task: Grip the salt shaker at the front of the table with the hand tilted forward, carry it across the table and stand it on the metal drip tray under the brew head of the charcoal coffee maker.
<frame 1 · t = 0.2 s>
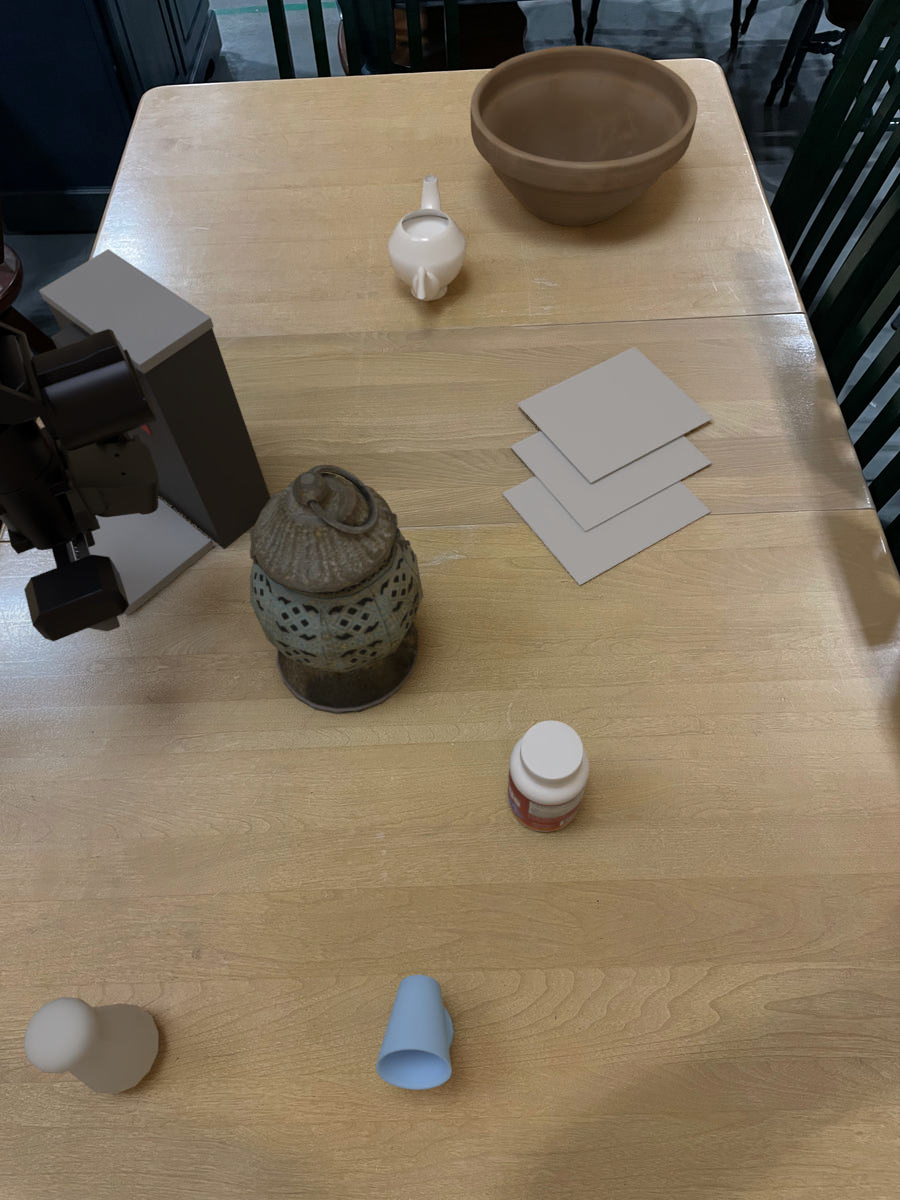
hand: (101, 585, 71), 12 cm above the table, tool pointing down, fingers open, 9 cm apart
salt shaker: (130, 1050, 63), on the table
blue mug: (423, 1039, 63), on the table
paper stack: (608, 458, 92), on the table
lantern: (352, 649, 81), on the table
teapot: (429, 290, 108), on the table
pill bottle: (543, 799, 72), on the table
coffee maker: (132, 552, 88), on the table
flower pot: (574, 198, 118), on the table
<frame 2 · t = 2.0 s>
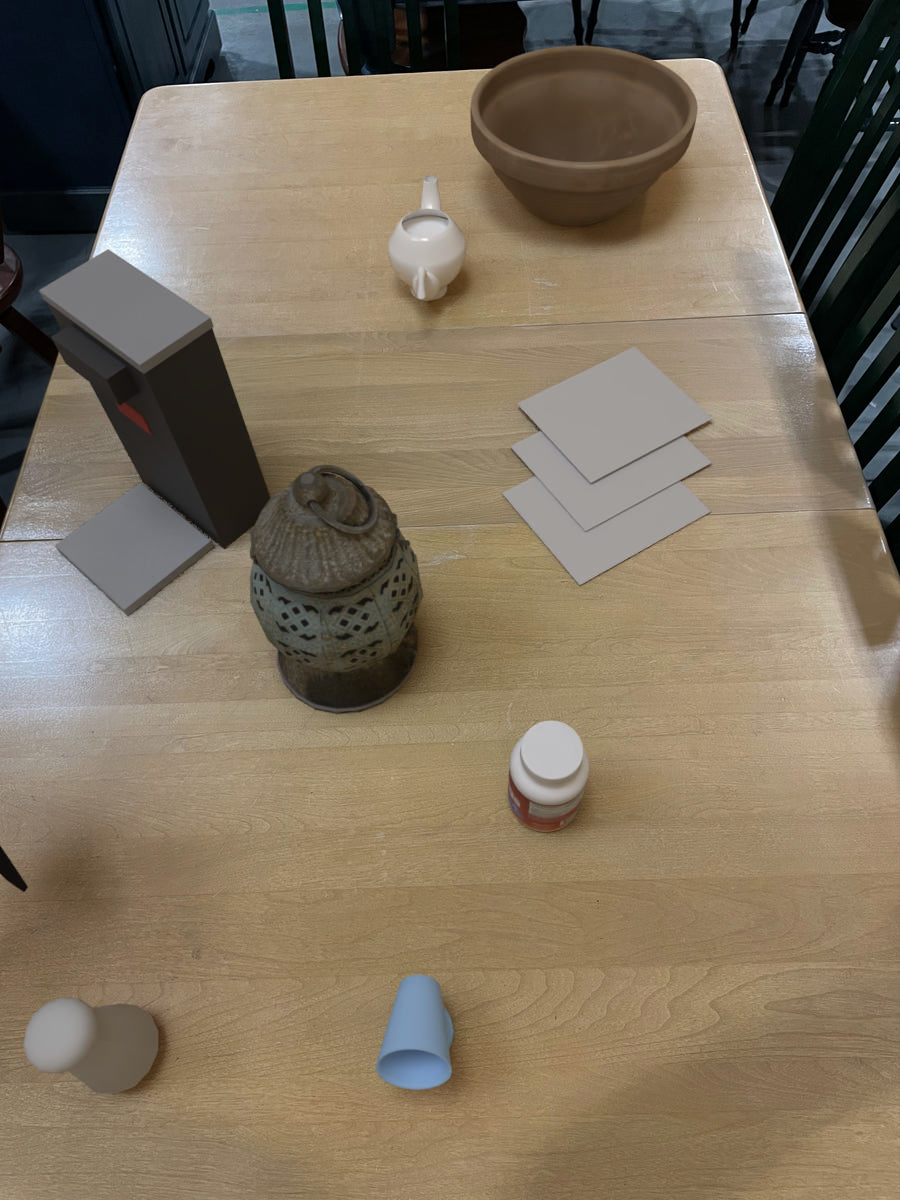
nothing on the table moved.
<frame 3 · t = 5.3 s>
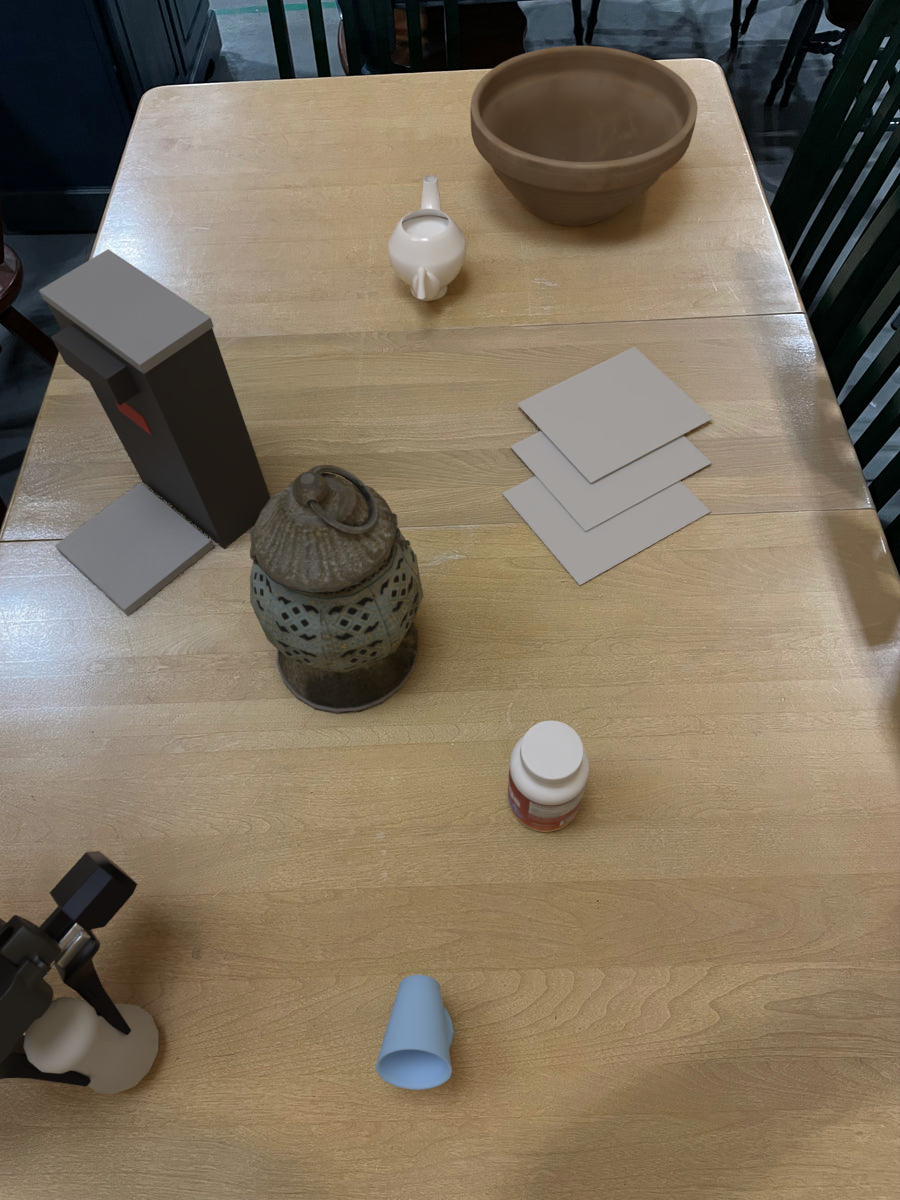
hand: (108, 1056, 57), 7 cm above the table, tool tilted 45°, fingers closed on salt shaker, 3 cm apart
salt shaker: (130, 1050, 63), on the table, touching gripper
everything else where it was.
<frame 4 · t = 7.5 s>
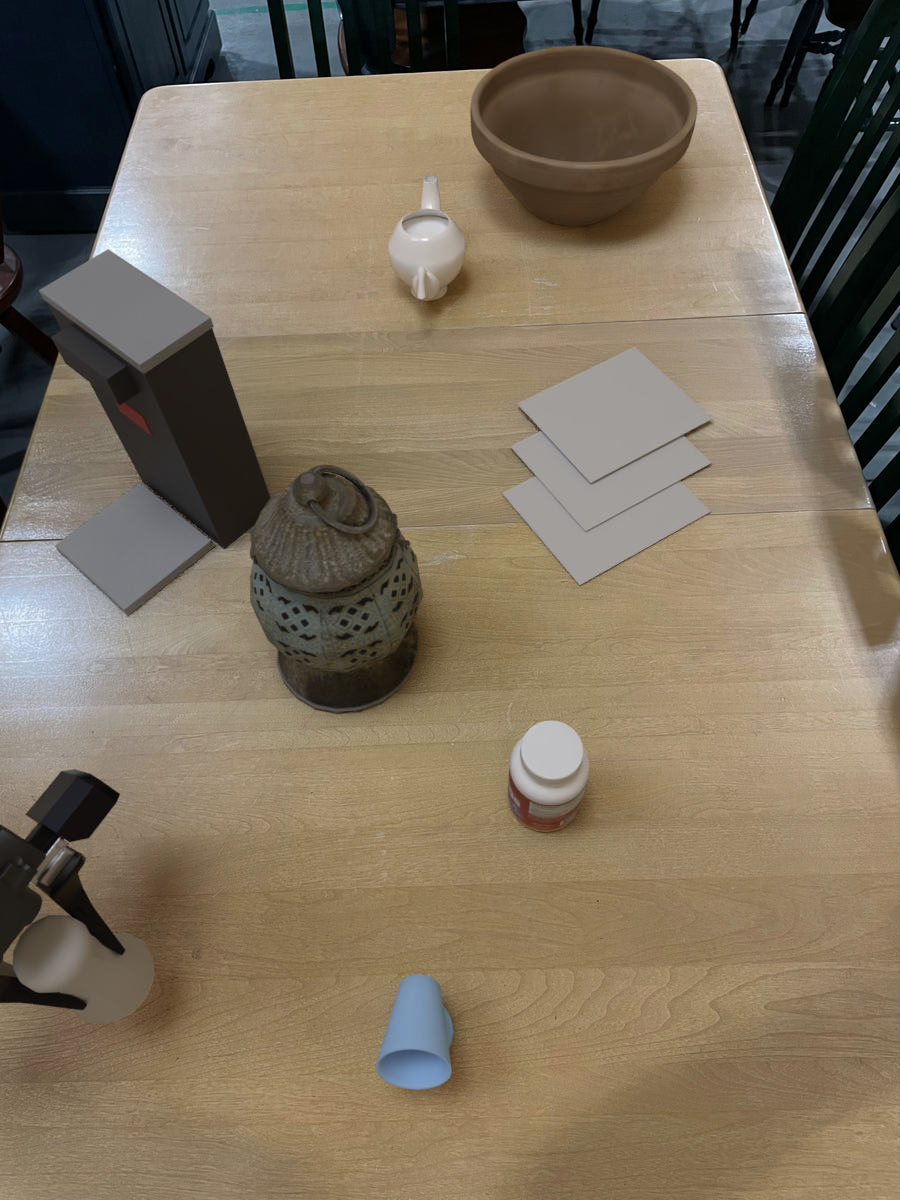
hand: (103, 978, 54), 12 cm above the table, tool tilted 45°, fingers closed on salt shaker, 3 cm apart
salt shaker: (124, 982, 61), point 6 cm above the table, touching gripper
everything else where it was.
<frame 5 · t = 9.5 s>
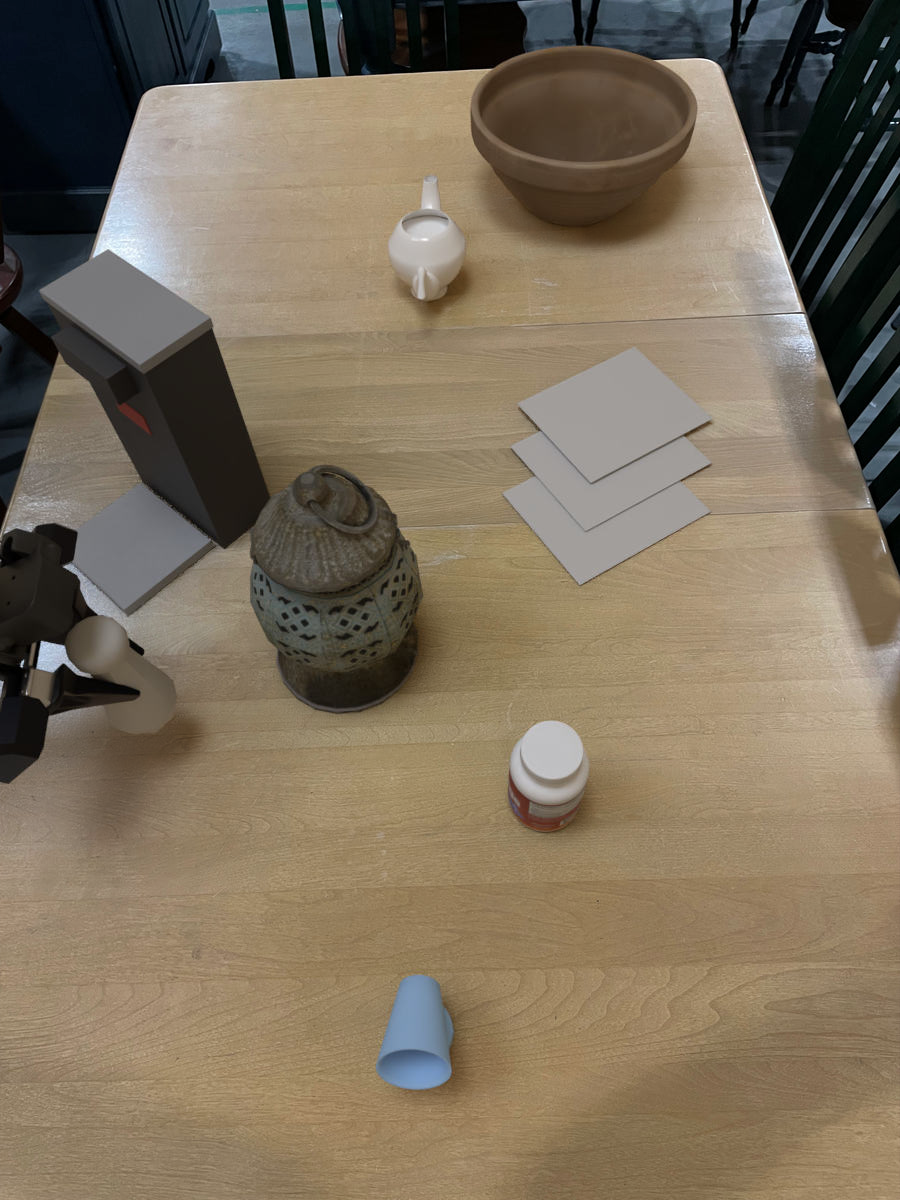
hand: (140, 675, 66), 12 cm above the table, tool tilted 45°, fingers closed on salt shaker, 3 cm apart
salt shaker: (151, 713, 72), point 6 cm above the table, touching gripper
everything else where it was.
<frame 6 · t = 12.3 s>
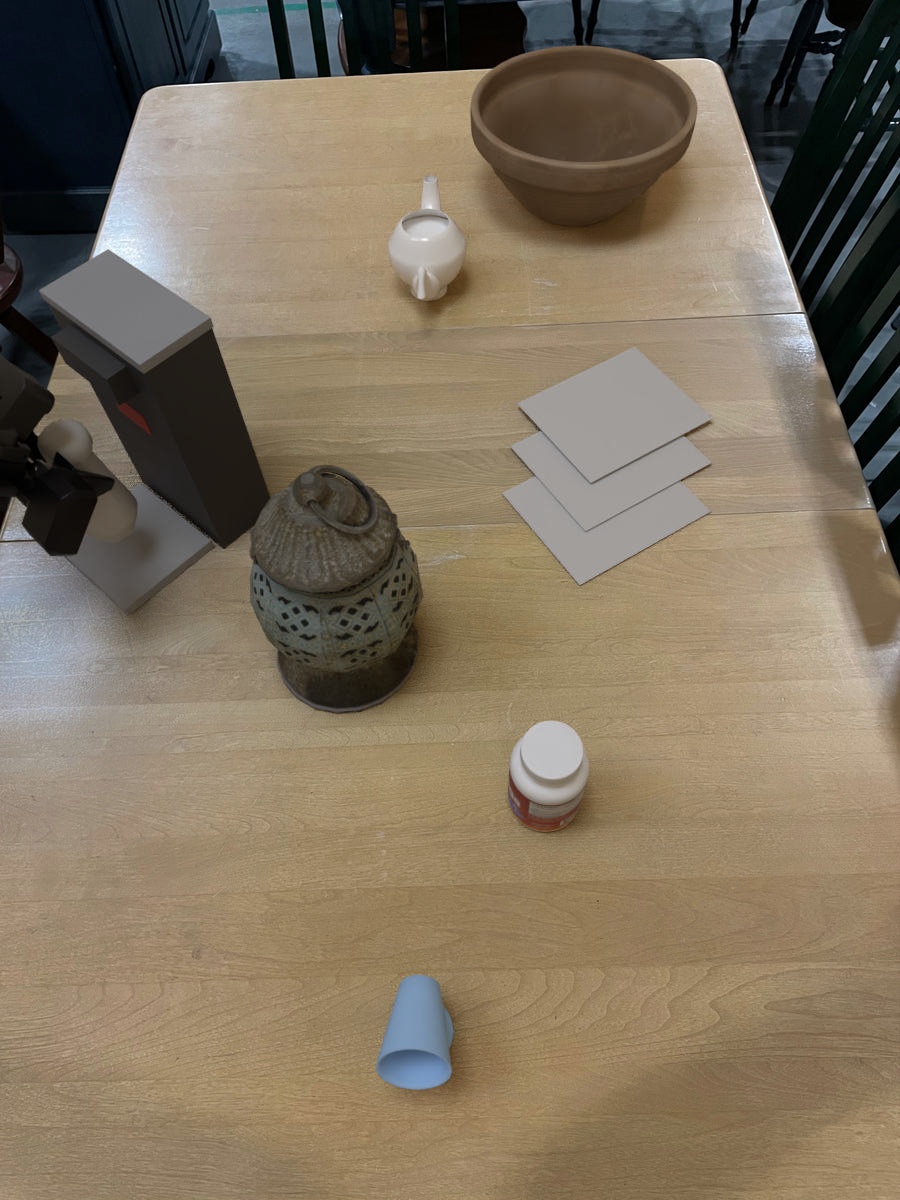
hand: (101, 473, 77), 12 cm above the table, tool tilted 45°, fingers closed on salt shaker, 3 cm apart
salt shaker: (116, 527, 83), point 6 cm above the table, touching gripper
everything else where it was.
when the fingers open (8 cm above the table, at t = 14.2 s): salt shaker stays where it is, resting on coffee maker.
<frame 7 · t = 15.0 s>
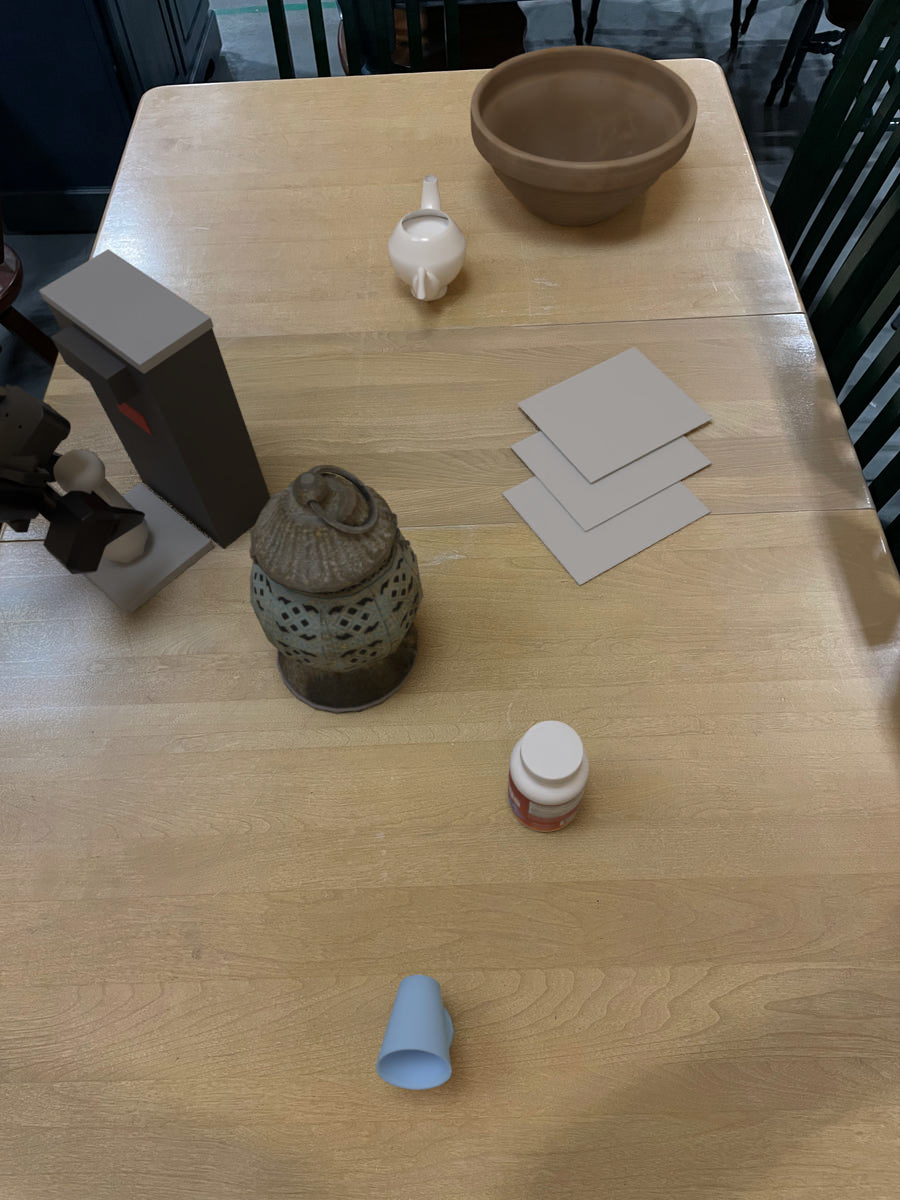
hand: (113, 492, 81), 8 cm above the table, tool tilted 45°, fingers open, 9 cm apart
salt shaker: (127, 548, 87), point 1 cm above the table, touching coffee maker
everything else where it was.
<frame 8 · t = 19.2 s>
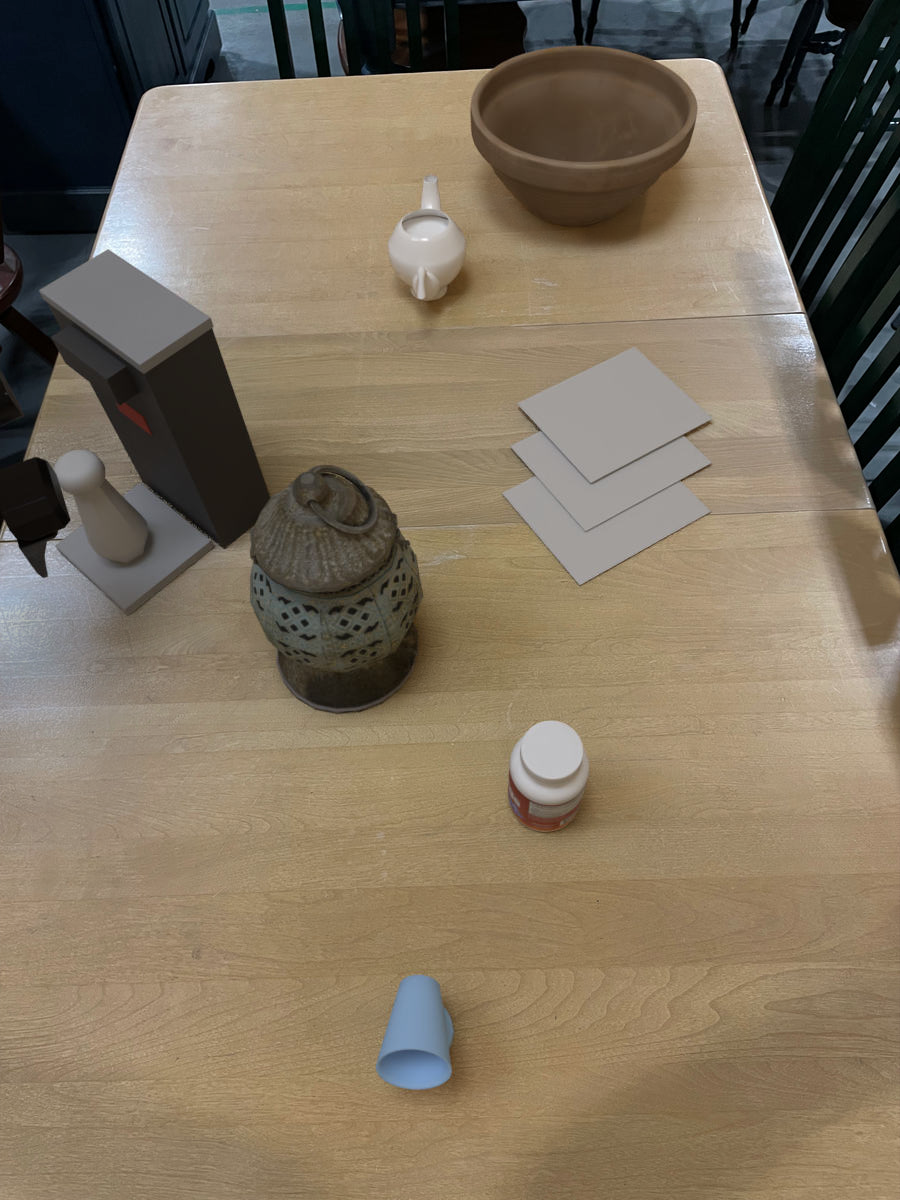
nothing on the table moved.
at the end: salt shaker inside the target area on the coffee maker (0.2 cm from its centre), point 1.0 cm above the coffee maker's base; salt shaker tilted 0°; the gripper is holding nothing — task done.
